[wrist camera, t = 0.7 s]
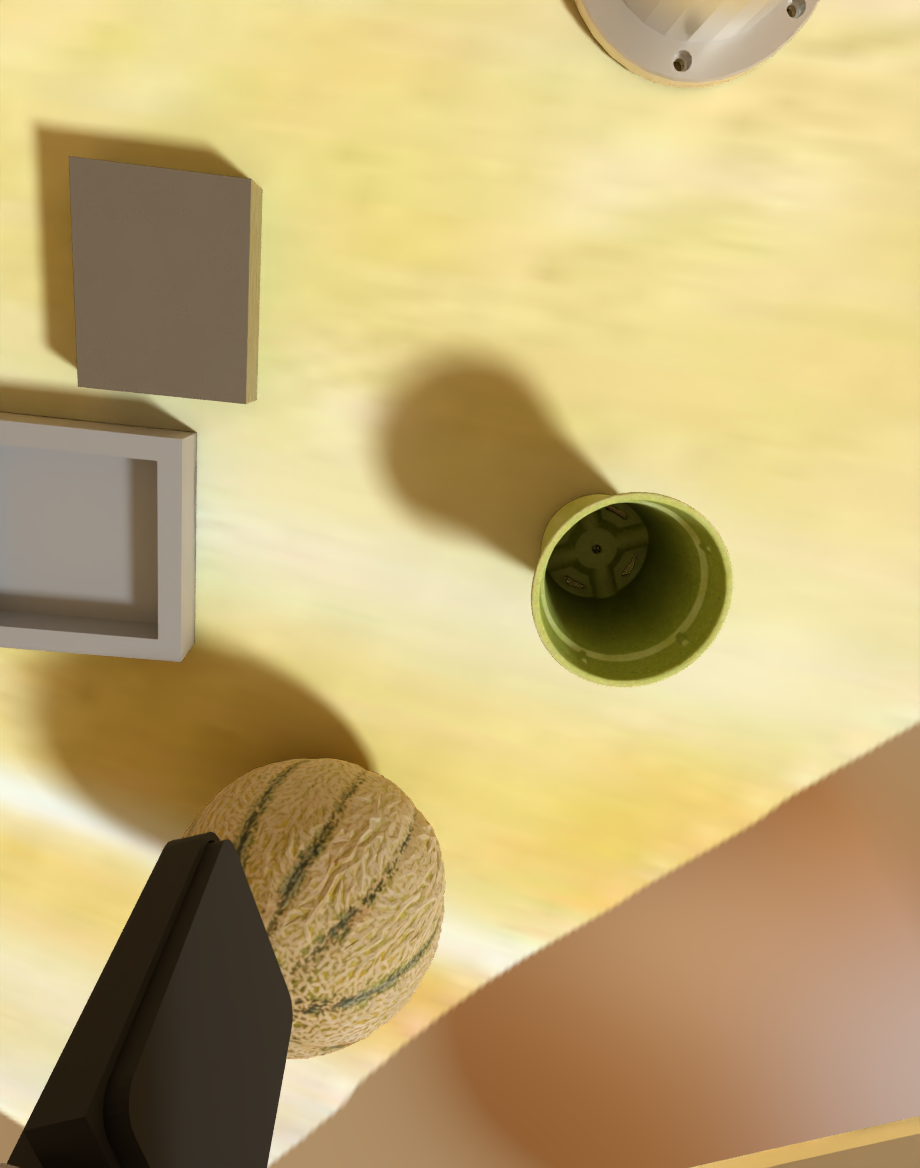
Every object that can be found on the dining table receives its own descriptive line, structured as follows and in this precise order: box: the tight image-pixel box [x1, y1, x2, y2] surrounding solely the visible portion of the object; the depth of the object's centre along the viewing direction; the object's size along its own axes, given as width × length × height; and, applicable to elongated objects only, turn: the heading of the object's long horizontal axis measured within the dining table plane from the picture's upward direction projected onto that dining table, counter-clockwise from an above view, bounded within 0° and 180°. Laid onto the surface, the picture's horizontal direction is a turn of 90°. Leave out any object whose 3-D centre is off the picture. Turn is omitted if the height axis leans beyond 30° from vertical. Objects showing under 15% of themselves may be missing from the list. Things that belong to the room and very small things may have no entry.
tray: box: [0, 412, 197, 662], centre depth 41 cm, size 12×12×3 cm
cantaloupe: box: [182, 758, 445, 1059], centre depth 41 cm, size 15×15×15 cm
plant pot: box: [531, 492, 733, 687], centre depth 40 cm, size 9×9×9 cm
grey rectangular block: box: [69, 156, 262, 404], centre depth 38 cm, size 10×8×3 cm
